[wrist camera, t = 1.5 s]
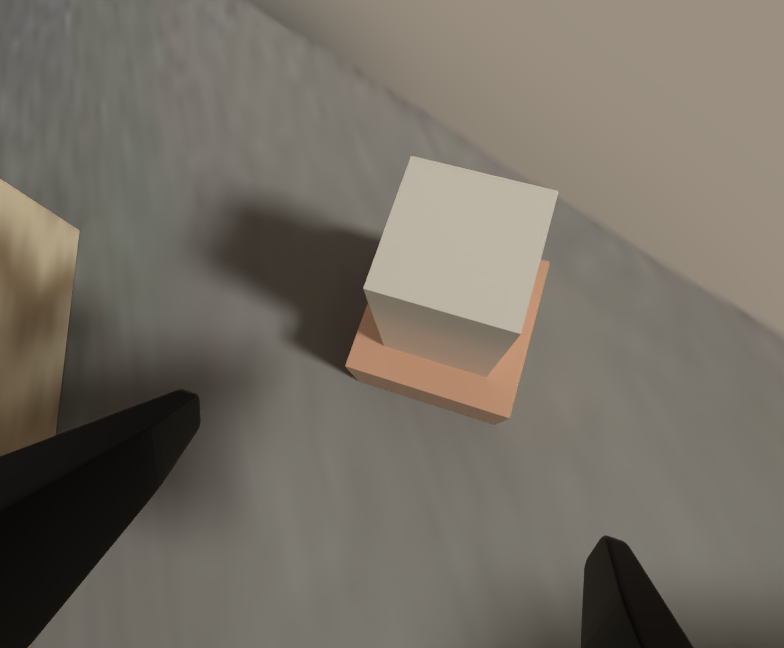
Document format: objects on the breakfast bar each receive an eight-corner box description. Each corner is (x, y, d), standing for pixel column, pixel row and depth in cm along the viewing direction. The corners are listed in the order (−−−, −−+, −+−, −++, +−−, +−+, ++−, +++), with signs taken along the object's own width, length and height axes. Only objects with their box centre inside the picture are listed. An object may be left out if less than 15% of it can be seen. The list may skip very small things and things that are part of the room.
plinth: (494, 424, 22) (509, 418, 18) (358, 380, 23) (344, 365, 19) (529, 293, 24) (550, 261, 20) (401, 257, 25) (396, 221, 21)
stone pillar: (486, 377, 19) (520, 334, 12) (384, 346, 19) (362, 288, 13) (512, 280, 20) (558, 191, 13) (415, 254, 20) (411, 155, 14)
